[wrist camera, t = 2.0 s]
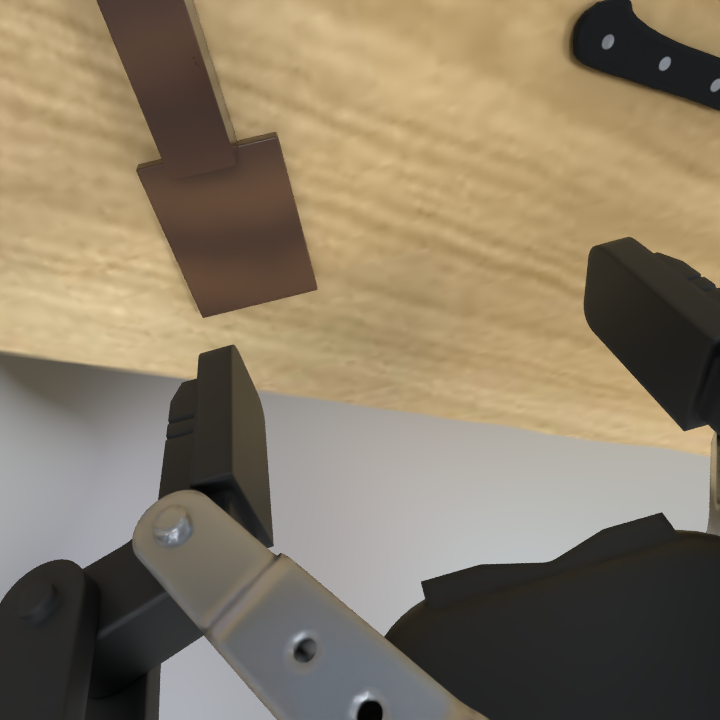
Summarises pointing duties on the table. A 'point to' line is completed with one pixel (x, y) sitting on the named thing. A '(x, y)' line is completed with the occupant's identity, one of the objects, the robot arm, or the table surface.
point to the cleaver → (644, 54)
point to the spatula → (208, 166)
